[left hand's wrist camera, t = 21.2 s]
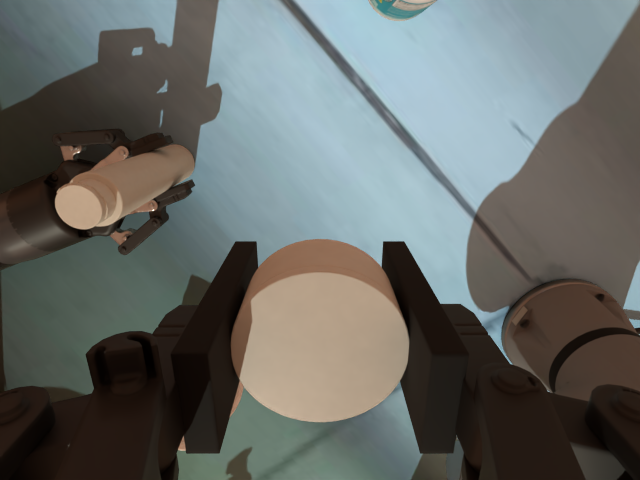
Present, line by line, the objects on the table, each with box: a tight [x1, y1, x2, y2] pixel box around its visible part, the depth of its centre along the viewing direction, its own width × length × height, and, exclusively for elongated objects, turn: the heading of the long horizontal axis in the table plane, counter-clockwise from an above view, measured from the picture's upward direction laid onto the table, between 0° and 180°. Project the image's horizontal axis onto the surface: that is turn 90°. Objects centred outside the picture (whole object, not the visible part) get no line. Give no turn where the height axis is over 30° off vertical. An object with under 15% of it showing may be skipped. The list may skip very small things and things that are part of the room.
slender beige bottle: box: [55, 144, 195, 229], centre depth 36 cm, size 4×4×20 cm
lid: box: [231, 239, 409, 422], centre depth 11 cm, size 5×5×2 cm
